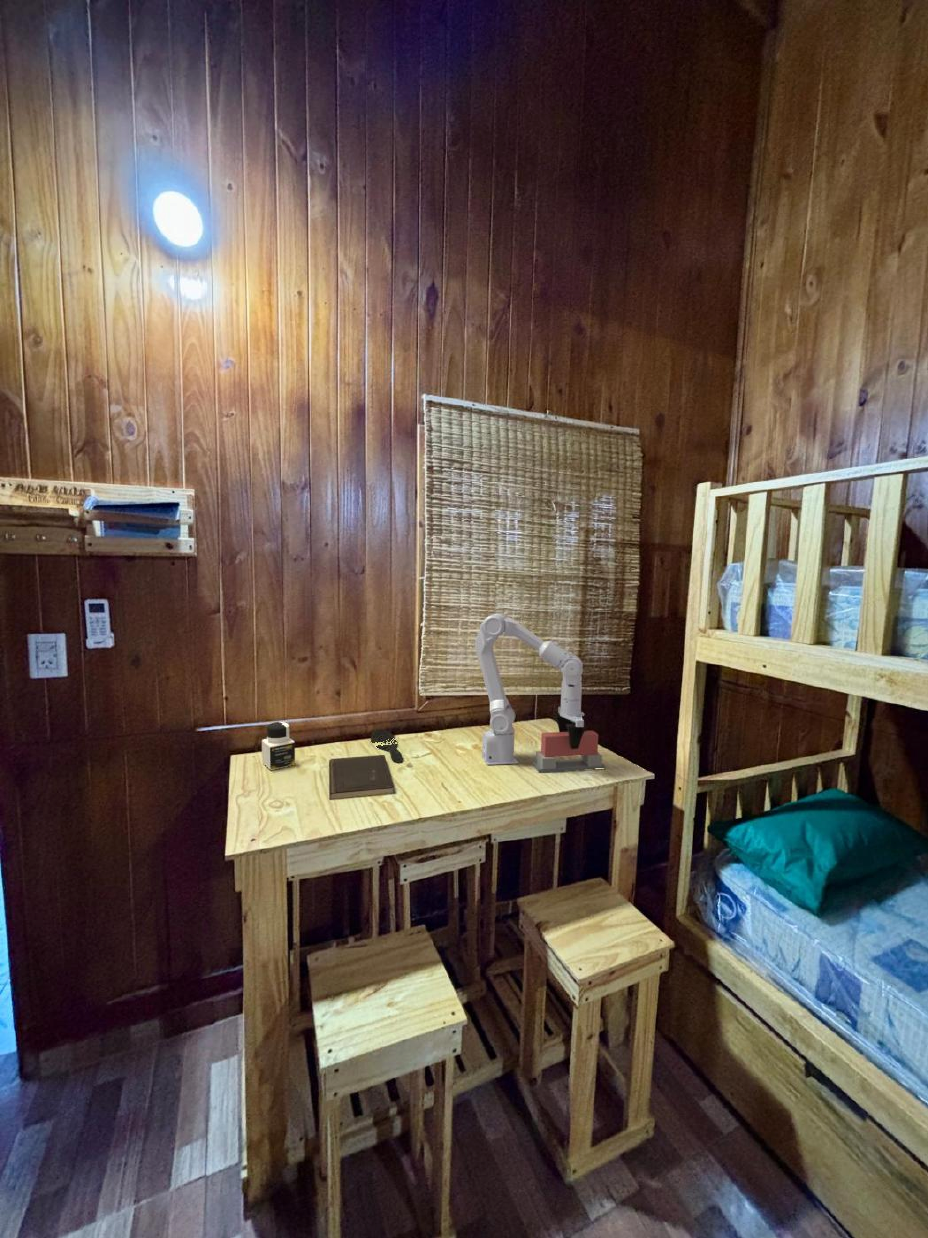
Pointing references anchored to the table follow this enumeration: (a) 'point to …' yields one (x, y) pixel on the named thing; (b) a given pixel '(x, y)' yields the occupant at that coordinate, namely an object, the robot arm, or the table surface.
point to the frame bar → (568, 744)
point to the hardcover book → (359, 776)
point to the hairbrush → (384, 736)
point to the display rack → (566, 763)
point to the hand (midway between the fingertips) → (569, 744)
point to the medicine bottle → (278, 747)
